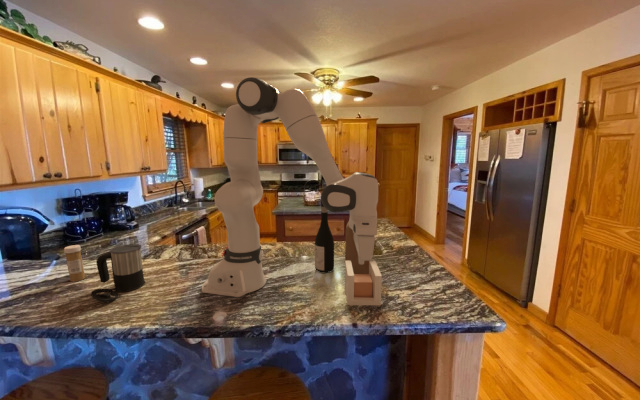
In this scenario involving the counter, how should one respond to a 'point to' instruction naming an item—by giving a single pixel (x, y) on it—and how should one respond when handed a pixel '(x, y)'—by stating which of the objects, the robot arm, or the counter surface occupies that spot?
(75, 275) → the pill bottle
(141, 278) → the milk frother
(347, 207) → the robot arm
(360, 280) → the block
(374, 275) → the chute
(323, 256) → the wine bottle
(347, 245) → the wooden block
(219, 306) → the counter surface
